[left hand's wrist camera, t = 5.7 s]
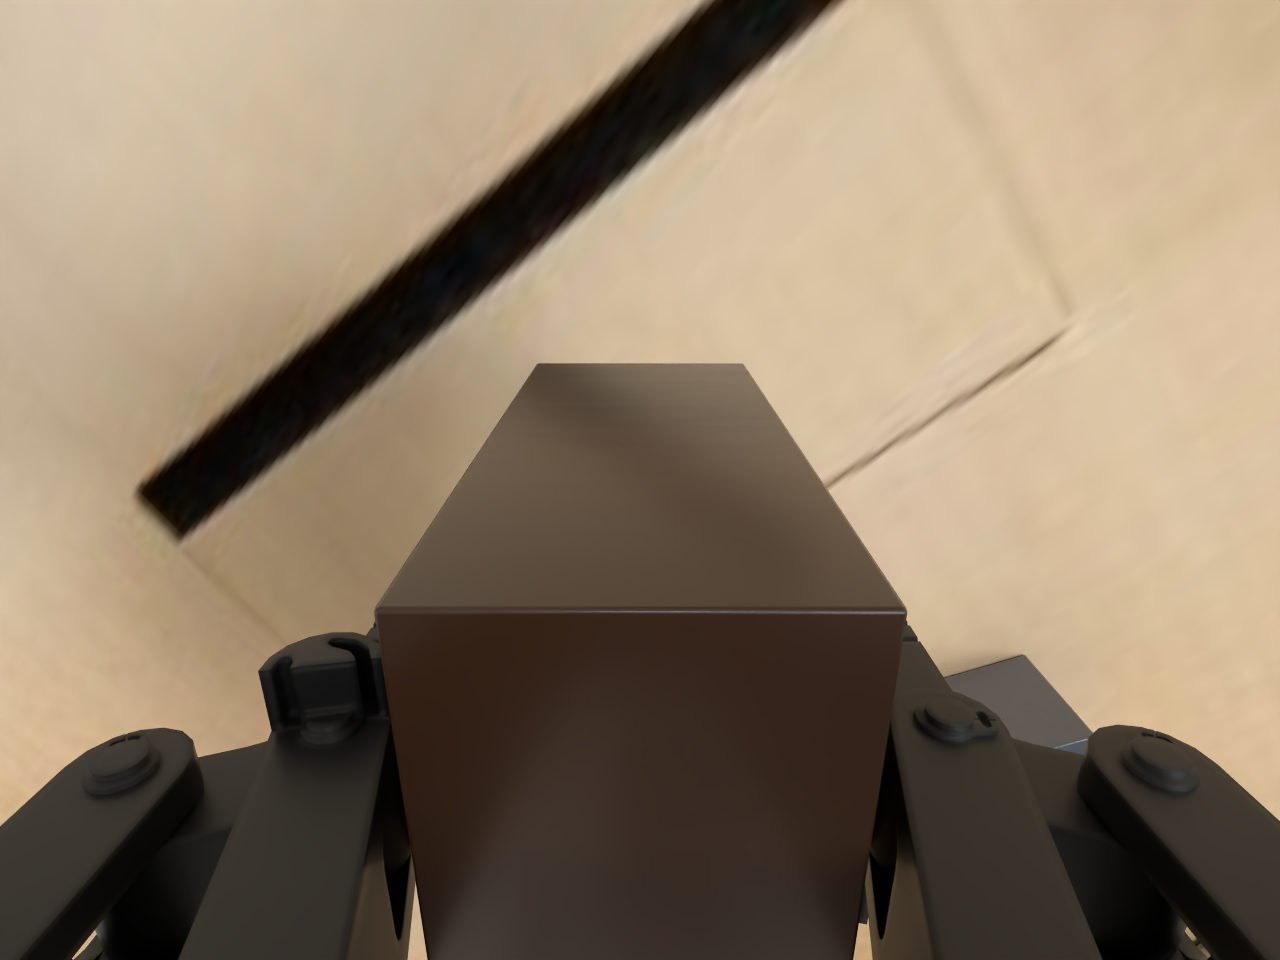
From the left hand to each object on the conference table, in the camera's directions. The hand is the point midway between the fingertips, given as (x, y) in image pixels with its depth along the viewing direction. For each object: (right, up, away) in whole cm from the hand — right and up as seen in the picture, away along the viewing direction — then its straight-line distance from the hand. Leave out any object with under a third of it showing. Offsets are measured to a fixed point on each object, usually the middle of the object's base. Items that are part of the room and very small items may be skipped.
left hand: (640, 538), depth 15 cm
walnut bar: (0, -8, +3) cm, 8 cm away
